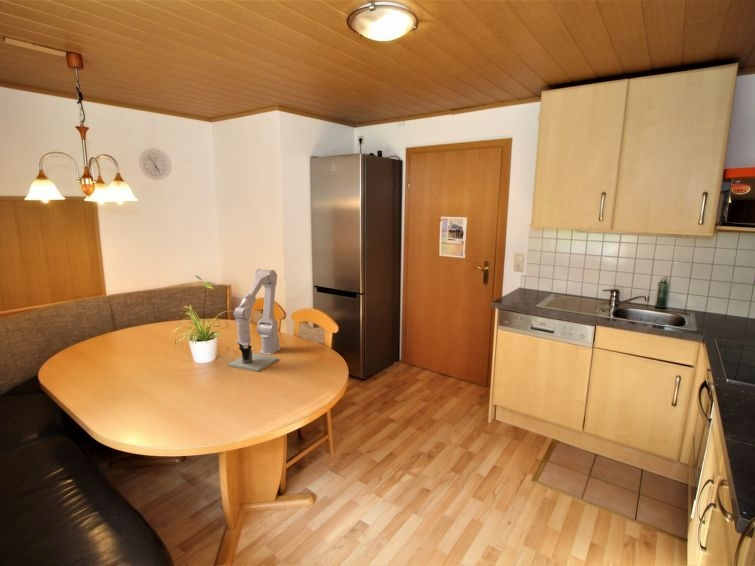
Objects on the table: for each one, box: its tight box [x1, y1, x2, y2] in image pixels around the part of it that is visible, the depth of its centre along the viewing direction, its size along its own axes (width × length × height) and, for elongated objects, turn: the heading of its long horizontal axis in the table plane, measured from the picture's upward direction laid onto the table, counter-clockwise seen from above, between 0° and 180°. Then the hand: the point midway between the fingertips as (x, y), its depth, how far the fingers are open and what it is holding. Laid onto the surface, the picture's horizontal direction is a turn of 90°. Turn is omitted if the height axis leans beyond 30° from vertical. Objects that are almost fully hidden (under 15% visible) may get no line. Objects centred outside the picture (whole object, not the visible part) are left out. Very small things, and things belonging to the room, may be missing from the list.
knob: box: [241, 349, 253, 363], centre depth 205 cm, size 5×5×6 cm
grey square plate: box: [227, 352, 279, 373], centre depth 207 cm, size 16×18×4 cm
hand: (245, 357), depth 205 cm, fingers closed on knob, 5 cm apart
